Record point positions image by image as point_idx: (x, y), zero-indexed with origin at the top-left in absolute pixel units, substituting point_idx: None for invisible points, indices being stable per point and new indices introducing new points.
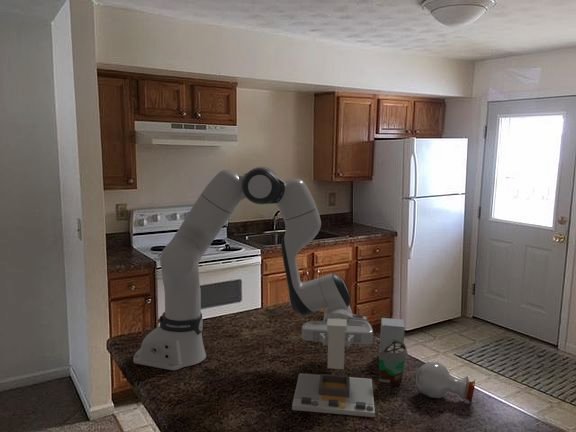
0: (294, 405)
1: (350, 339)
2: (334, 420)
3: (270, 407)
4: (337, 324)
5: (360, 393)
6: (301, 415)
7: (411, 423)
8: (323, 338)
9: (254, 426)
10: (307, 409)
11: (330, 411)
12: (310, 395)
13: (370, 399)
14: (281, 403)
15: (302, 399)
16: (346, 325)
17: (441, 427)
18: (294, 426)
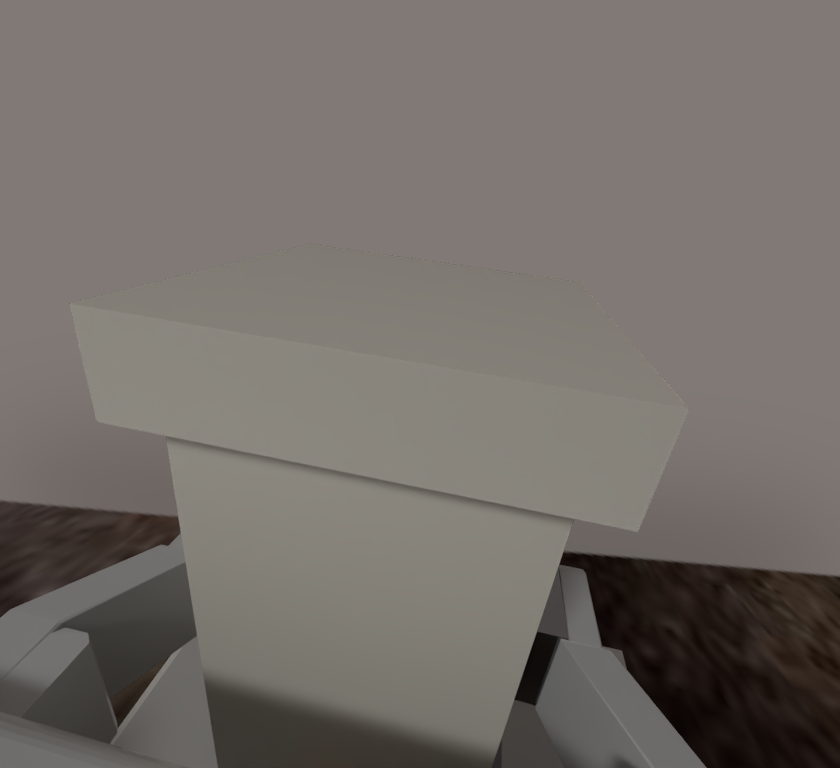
0: (609, 649)
1: (161, 554)
2: None
3: (733, 699)
4: (421, 269)
5: (189, 763)
6: None
7: (120, 531)
8: (586, 593)
9: (708, 568)
10: None
11: None
12: (545, 754)
13: (177, 673)
14: (698, 741)
15: None
16: (297, 247)
17: (31, 503)
18: (567, 556)
